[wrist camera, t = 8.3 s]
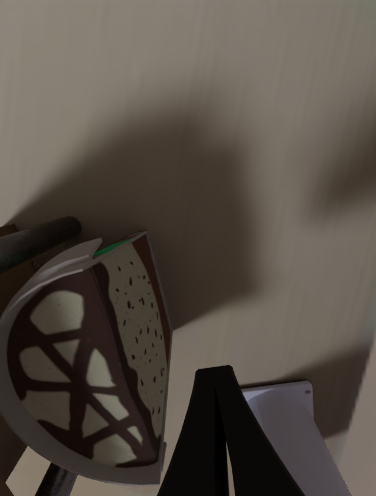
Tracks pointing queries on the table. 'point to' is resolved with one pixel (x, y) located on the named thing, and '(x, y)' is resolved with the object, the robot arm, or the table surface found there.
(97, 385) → the food container
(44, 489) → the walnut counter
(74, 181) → the table surface
